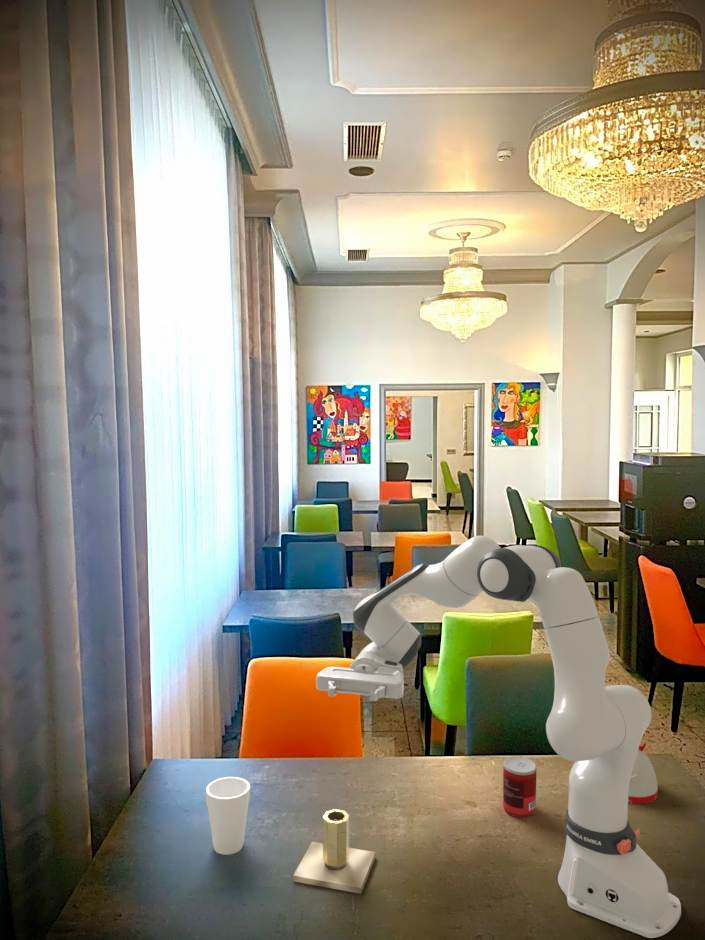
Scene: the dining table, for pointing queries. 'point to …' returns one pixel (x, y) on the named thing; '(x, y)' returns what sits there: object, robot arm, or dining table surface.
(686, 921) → the dining table surface
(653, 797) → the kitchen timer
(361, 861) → the shaft stand
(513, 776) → the canned food
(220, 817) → the foam cup
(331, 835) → the collar
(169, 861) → the dining table surface
